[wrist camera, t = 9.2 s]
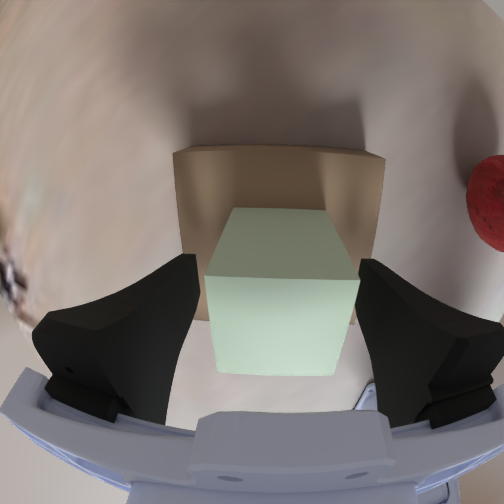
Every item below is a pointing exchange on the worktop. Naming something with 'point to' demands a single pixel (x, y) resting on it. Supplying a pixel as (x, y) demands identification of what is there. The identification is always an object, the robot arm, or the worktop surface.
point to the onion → (487, 200)
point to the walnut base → (275, 193)
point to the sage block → (279, 293)
